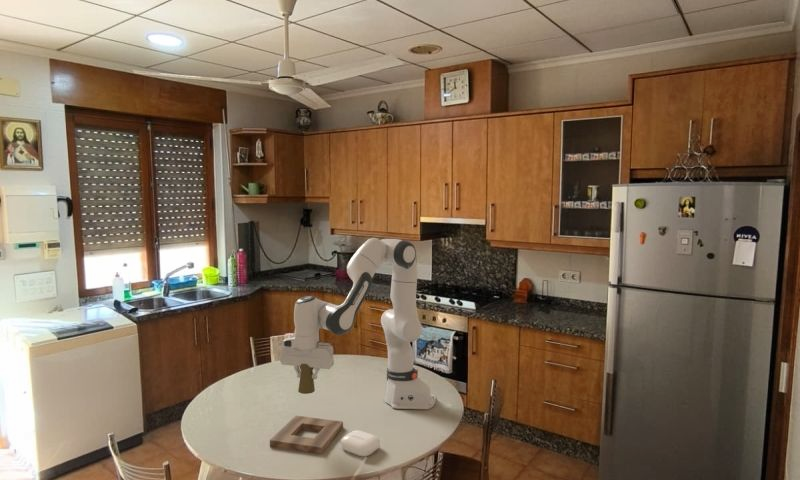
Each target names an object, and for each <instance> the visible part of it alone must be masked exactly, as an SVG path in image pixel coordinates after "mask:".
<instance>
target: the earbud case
mask: <svg viewBox="0 0 800 480" xmlns="http://www.w3.org/2000/svg"><path fill="white" fill-rule="evenodd" d="M340 446H341V448H342V449H343V450H344V451H345V452H348V453H350V454H353V455H356V456H358V457H369V456H370V455H372V454H373V453H375V452H376V451H377V450H378V449H379V448H380V447H381V442H380V438H379V437H378V436H376V435H375V434H372V433H369V432H366V431H363V430H359V429H355V430H353V431H350V432H349V433H348V434H347V433H346V434H345V435H344V436H342V438H341V440H340Z"/></svg>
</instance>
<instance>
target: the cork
mask: <svg viewBox="0 0 800 480" xmlns="http://www.w3.org/2000/svg"><path fill="white" fill-rule="evenodd" d="M299 369H300V371H301V376H300V378H299V383H298V389H297V392H298V393H300V394H302V395H303V394H304V395H307V394H313V393H314V392H315V391H316V389H315V379H312V374H313V373H314V368H311V367H309V366H308V365H307V364H301V365H300V367H299Z"/></svg>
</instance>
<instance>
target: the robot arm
mask: <svg viewBox="0 0 800 480" xmlns="http://www.w3.org/2000/svg"><path fill="white" fill-rule="evenodd" d="M416 256H417V250H416V247H415V245H414V244H413V243H412V242H410V241H408V240H402V239H399V238H385V237H384V238H383V237H382V238H376V237H371V238H368V239H367V240H366V241H365V242H363V243H362V244H361V245H360V246H359V248H358V249H357V250H356V251H355V252H354V253H353V255H352V256H351V258H350V260H349V261H348V262H347V265H346V273H347V275H348V277H349V278H350V280H351V281H352V283H353V284H352V287H351V289H350V290H349V293H348V295H347V296H346V298H345V300H344V301H343V303H341V304H339V305H337V304H334V303H332V302H327V301H324V300H321V299H319V298H317V297H316V296H314V295H308V296H307V295H305V296H302V297H300V298H298V299H297V300H296V301H295V303H294V307H293V308H294V310H293V323H294V333H293V335H291V336H289V337H287V338H285V339H283V340H282V341H281V346H282V347H281V348H280V353H279V361H280V364H281V365H283V366H293V369H294V371H295V373H296V378H299V379H300V376H301V370H300V365H301V364H307V365H308V366H309V367H311V368H314V369H313V371H314V372H313V374H312V379H314V380H317V379H318V374H319V373H320V370H321V369H323V370H330V369H331V368H332V367H334V365H335V360H334V359H335V358H334V357H335V356H334V346H333V345H332V344H331V343H330V342H321V341H320V335H319V334H320V332H319V331H320V329H323V330H326V331H330V332H331V333H333V334H334V335H337V336H342V335H345V334H347V333H349V332H350V330H351V329H352V328H353V326H354V323H355V320H356V317H357V314H358V312H359V310H360V308H361V307H362V304H363V303H364V301H365V300H366V297H367V295H368V293H369V292H370V289H371V287H372V285H373V277H374V276H375V274H376V272H377V270H378V269H379V268H380V266H381V264H385V265H388V266H391V267H392V273H391V283H390V294H389V295H390V296H389V297H390V301H391V303H392V308H390V309H386V310H385V311H384V312H383V313H382V315H381V318H380V324H381V327H382V329H383V333H384V337H385V343H386V348H387V367H386V381H387V383H386V389H385V391H386V392H385V394H384V400H383V401H384V402H385V403H386V404H388V405H390V406H391V408H393V409H399V410H400V409H402V410H404V409H405V410H430V409H432V408H433V407H434V405H436V402H437V401H436V398H437V397H436V396H435V395H434V394H431V389H430V385H429V384H428V383H426V382H425V381H424V380H422V379H421V378H420V377H419V375H418V374H419V369H418V368H416V369H415V367H414V349H413V347H412V345H411V343H412V342H416V341H417V340H419V339H420V337H421V335H422V333H423V326H422V323H421V321H420V319H419V315H418V307H417V289H418V288H417V286H418V285H417V284H418V264H417V260H416V258H417V257H416Z"/></svg>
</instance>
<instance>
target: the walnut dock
mask: <svg viewBox="0 0 800 480" xmlns="http://www.w3.org/2000/svg"><path fill="white" fill-rule="evenodd" d="M343 429H344V421H341V420H340V421H339V420H334V419H326V418H320V417H319V418H318V417H311V416H310V417H309V416H301V415H294V417H293V418H291V420H289V422H287V423H286V424H285V425H284V426H283V427H282V428H281V429H280V430H279V431H277V432H276V434H274V435H273V436H272V437H271V438H270V439H269V447H270V448H276V449H284V450H289V451H290V450H291V451H297V452H303V453H310V454H317V455H323V453H324V452H325V451H326V450H327V449H328V447H329V446H330V445H331V443H332V442H333V441H334V440H335V438H336V437H337V436H338V435H339V434H340V432H341V431H342V430H343ZM302 430H303V431H312V432H318V433H317V434H316V436H315V437H309V436H308V437H307V436H300V435H298V434H300V433H301V431H302Z"/></svg>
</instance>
